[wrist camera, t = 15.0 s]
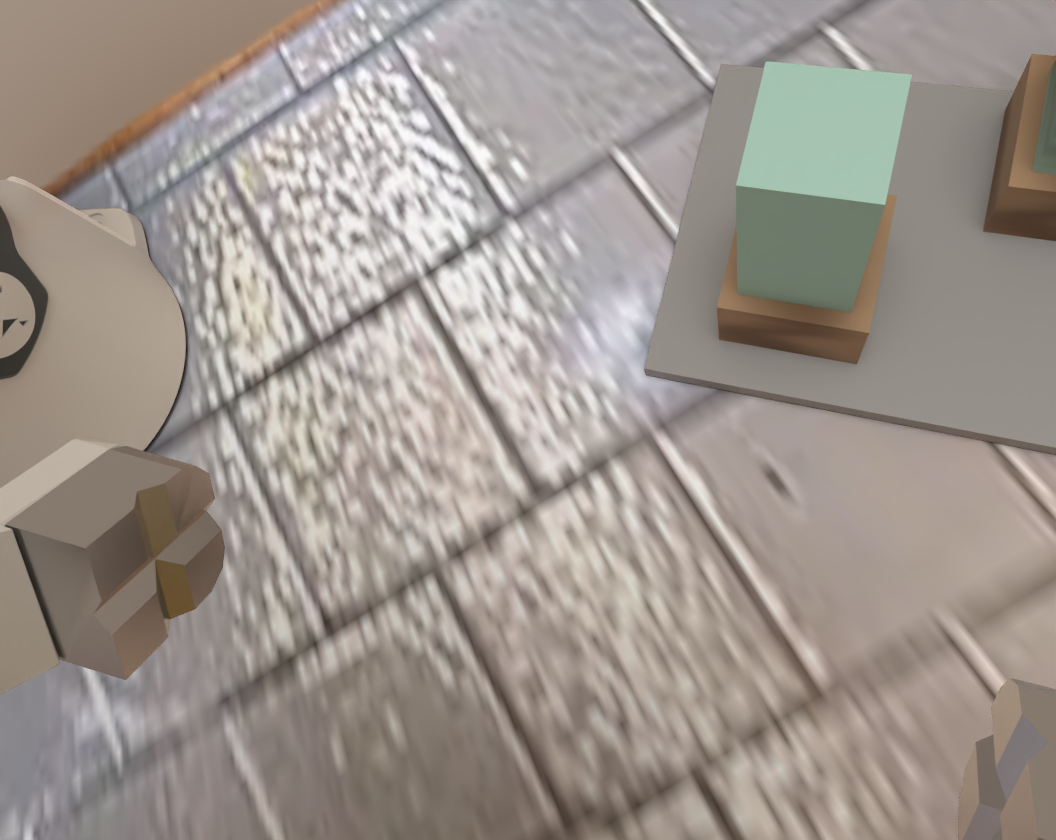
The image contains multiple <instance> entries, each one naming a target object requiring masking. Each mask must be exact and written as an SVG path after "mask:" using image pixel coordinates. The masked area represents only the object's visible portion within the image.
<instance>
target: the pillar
mask: <svg viewBox="0 0 1056 840" xmlns="http://www.w3.org/2000/svg"><path fill="white" fill-rule="evenodd" d="M911 77H912V75H910V74H899V73H888V72H877V71H866V70H855V69H844V68H833V67H822V66H811V65H800V64H789V63H778V62H767V61H766V63H765V67H764V71H763V75H762V79H761V84H760V88H759V92H758V96H757V100H756V104H755V108H754V113H753V117H752V121H751V125H750V129H749V133H748V137H747V142H746V146H745V150H744V154H743V158H742V162H741V166H740V171H739V175H738V179H737V183H736V228H737V294H741V295H747V296H753V297H759V298H765V299H771V300H778V301H784V302H790V303H796V304H802V305H808V306H814V307H820V308H827V309H833V310H839V311H845V312H852V309H853V305H854V302H855V299H856V296H857V293H858V290H859V286H860V283H861V280H862V277H863V274H864V271H865V267H866V264H867V261H868V258H869V255H870V252H871V248H872V245H873V242H874V239H875V236H876V233H877V229H878V226H879V223H880V220H881V217H882V213H883V210H884V207H885V204H886V199H887V194H888V189H889V184H890V179H891V174H892V169H893V165H894V160H895V155H896V150H897V145H898V140H899V135H900V131H901V126H902V121H903V116H904V111H905V106H906V101H907V96H908V92H909V87H910V82H911Z"/></svg>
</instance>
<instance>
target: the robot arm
mask: <svg viewBox="0 0 1056 840" xmlns="http://www.w3.org/2000/svg"><path fill="white" fill-rule="evenodd" d="M185 351H186V337H185V328H184V322H183V317H182V313H181V310H180V307H179V304H178V301H177V299H176V297H175V295H174V293H173V291H172V289H171V288H170V286H169V285H168V283H167V282H166V280H165V279H164V278H163V277H162V275H161V274H160V273H159V272H158V270H157V269H156V268H155V266H154V265H153V263H152V262H151V260H150V258H149V254H148V248H147V243H146V238H145V234H144V230H143V227H142V224H141V222H140V221H139V219H138V218H137V217H136V216H134V215H132V214H130V213H128V212H126V211H125V210H123V209H119V208H105V209H84V210H77V209H75V208H73V207H72V206H70V205H68V204H66V203H65V202H63V201H61V200H59V199H58V198H56V197H54V196H52V195H51V194H49V193H47V192H46V191H44V190H42V189H40V188H38V187H37V186H35V185H33V184H31V183H30V182H28V181H26V180H24V179H21V178H18V177H15V176H11V177H9V178H7V179H6V180H1V179H0V694H2V693H4V692H6V691H8V690H10V689H12V688H14V687H16V686H17V685H19V684H21V683H23V682H25V681H27V680H29V679H31V678H33V677H35V676H37V675H39V674H41V673H43V672H45V671H47V670H49V669H51V668H53V667H55V666H57V665H59V664H60V663H61V662H60V660H63V661H67V662H70V663H73V664H76V665H79V666H83V667H86V668H89V669H92V670H95V671H98V672H102V673H105V674H108V675H111V676H114V677H118V678H121V679H124V680H126V679H127V678H128V677H129V676H130V675H131V674H132V673H133V672H134V671H135V670H136V669H137V668H138V667H139V666H140V665H141V664H142V663H143V662H144V661H145V660H146V659H147V658H148V657H149V656H150V655H151V654H152V653H153V652H154V651H155V650H156V649H157V648H158V647H159V646H160V645H161V644H162V643H163V642H164V641H165V640H166V639H167V637H168V633H169V623H170V619H172V618H174V617H177V616H179V615H182V614H184V613H187V612H189V611H192V610H194V609H196V607H197V606H198V605H199V604H200V603H201V602H202V601H203V600H204V599H205V598H206V597H207V596H208V594H209V593H210V592H211V591H212V589H213V587H214V585H215V583H216V581H217V578H218V576H219V574H220V572H221V570H222V568H223V559H224V549H225V546H224V541H223V536H222V530H221V529H220V527H219V526H218V525H217V523H216V522H215V521H214V519H213V518H212V517H211V516H210V514H209V513H208V512H207V510H208V508H209V507H210V505H211V504H212V502H213V501H214V499H215V496H214V492H213V488H212V484H211V480H210V476H209V474H208V473H207V472H205V471H203V470H202V469H200V468H198V467H197V466H194V465H190V464H187V463H183V462H180V461H176V460H173V459H169V458H166V457H163V456H159V455H156V454H152V453H149V452H145V451H143V450H144V449H145V448H146V447H147V446H148V445H149V443H150V442H151V441H152V440H153V438H154V437H155V435H156V434H157V432H158V431H159V429H160V428H161V426H162V425H163V423H164V421H165V419H166V418H167V416H168V414H169V412H170V410H171V407H172V405H173V403H174V400H175V398H176V395H177V392H178V389H179V386H180V383H181V379H182V375H183V369H184V363H185ZM59 659H60V660H59ZM991 714H992V726H993V735H991V736H989V737H987V738H984V739H982V740H980V741H978V742H976V743H975V746H974V748H973V751H972V753H971V756H970V758H969V761H968V763H967V766H966V769H965V773H964V778H963V783H962V787H961V792H960V797H959V809H958V840H1056V689H1052V688H1048V687H1044V686H1040V685H1036V684H1032V683H1028V682H1024V681H1020V680H1016V679H1012V678H1009V679H1008V680H1007V681H1006V682H1005V683H1004V684H1003V685H1002V687H1001V688H1000V690H999V692H998V694H997V696H996V698H995V701H994V703H993V705H992V707H991Z"/></svg>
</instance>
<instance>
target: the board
mask: <svg viewBox="0 0 1056 840" xmlns="http://www.w3.org/2000/svg"><path fill="white" fill-rule="evenodd" d="M763 71H764V68H759V67H748V66H737V65H727V64H721V66H720V70H719V74H718V78H717V82H716V86H715V90H714V94H713V98H712V102H711V106H710V110H709V114H708V118H707V122H706V126H705V130H704V134H703V138H702V141H701V145H700V149H699V153H698V157H697V161H696V165H695V169H694V173H693V177H692V181H691V185H690V189H689V193H688V197H687V201H686V205H685V209H684V213H683V217H682V221H681V225H680V229H679V233H678V237H677V240H676V244H675V248H674V252H673V256H672V260H671V264H670V268H669V272H668V276H667V280H666V284H665V288H664V292H663V296H662V300H661V304H660V308H659V312H658V316H657V320H656V324H655V328H654V332H653V336H652V339H651V343H650V347H649V351H648V355H647V359H646V363H645V367H644V370H645V373H646V375H648V376H654V377H659V378H664V379H669V380H674V381H679V382H685V383H690V384H695V385H700V386H705V387H710V388H715V389H721V390H726V391H731V392H736V393H741V394H746V395H751V396H757V397H762V398H767V399H772V400H777V401H782V402H788V403H793V404H798V405H803V406H808V407H813V408H818V409H824V410H829V411H834V412H839V413H844V414H849V415H854V416H860V417H865V418H870V419H875V420H880V421H885V422H890V423H896V424H901V425H906V426H911V427H916V428H921V429H927V430H932V431H937V432H942V433H947V434H952V435H957V436H963V437H968V438H973V439H978V440H983V441H988V442H993V443H999V444H1004V445H1009V446H1014V447H1019V448H1024V449H1030V450H1035V451H1040V452H1045V453H1050V454H1055V455H1056V241H1050V240H1042V239H1035V238H1027V237H1020V236H1012V235H1005V234H998V233H990V232H983V228H984V223H985V217H986V212H987V206H988V201H989V195H990V190H991V185H992V179H993V174H994V168H995V163H996V157H997V152H998V146H999V141H1000V135H1001V130H1002V124H1003V119H1004V113H1005V109H1006V107H1007V105H1008V103H1009V101H1010V99H1011V97H1012V95H1013V93H1014V91H1005V90H994V89H983V88H973V87H962V86H951V85H941V84H930V83H919V82H910V87H909V92H908V96H907V101H906V106H905V111H904V116H903V121H902V126H901V131H900V135H899V140H898V145H897V150H896V155H895V160H894V165H893V169H892V174H891V179H890V184H889V189H888V194H889V195H897V199H896V204H895V209H894V213H893V218H892V223H891V228H890V233H889V238H888V243H887V248H886V253H885V258H884V263H883V267H882V272H881V277H880V282H879V287H878V292H877V297H876V302H875V307H874V312H873V317H872V321H871V326H870V331H869V335H868V337H867V340H866V342H865V345H864V347H863V350H862V353H861V355H860V358H859V360H858V363H857V364H852V363H847V362H841V361H835V360H830V359H824V358H819V357H813V356H807V355H802V354H796V353H791V352H785V351H779V350H774V349H768V348H763V347H757V346H752V345H746V344H740V343H735V342H729V341H724V340H719V331H718V318H717V304H718V300H719V296H720V292H721V287H722V283H723V279H724V275H725V271H726V267H727V262H728V258H729V254H730V250H731V246H732V242H733V237H734V233H735V229H736V183H737V179H738V175H739V171H740V166H741V162H742V158H743V154H744V150H745V146H746V142H747V137H748V133H749V129H750V125H751V121H752V117H753V113H754V108H755V104H756V100H757V96H758V92H759V88H760V84H761V79H762V75H763Z"/></svg>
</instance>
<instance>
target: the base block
mask: <svg viewBox="0 0 1056 840" xmlns="http://www.w3.org/2000/svg"><path fill="white" fill-rule="evenodd" d="M896 199H897V195H889V194H887V199H886V204H885V207H884V210H883V213H882V217H881V220H880V223H879V226H878V229H877V233H876V236H875V239H874V242H873V245H872V248H871V252H870V255H869V258H868V261H867V264H866V267H865V271H864V274H863V277H862V280H861V283H860V286H859V290H858V293H857V296H856V299H855V302H854V305H853V309H852V312H845V311H839V310H833V309H827V308H820V307H814V306H808V305H802V304H796V303H790V302H784V301H778V300H771V299H765V298H759V297H753V296H747V295H741V294H737V228H736V229H735V233H734V237H733V242H732V246H731V250H730V254H729V258H728V262H727V267H726V271H725V275H724V279H723V283H722V287H721V292H720V296H719V300H718V304H717V318H718V331H719V340H724V341H729V342H735V343H740V344H746V345H752V346H757V347H763V348H768V349H774V350H779V351H785V352H791V353H796V354H802V355H807V356H813V357H819V358H824V359H830V360H835V361H841V362H847V363H852V364H857V363H858V360H859V358H860V355H861V353H862V350H863V347H864V345H865V342H866V340H867V337H868V335H869V331H870V326H871V321H872V317H873V312H874V307H875V302H876V297H877V292H878V287H879V282H880V277H881V272H882V267H883V263H884V258H885V253H886V248H887V243H888V238H889V233H890V228H891V223H892V218H893V213H894V209H895V204H896Z"/></svg>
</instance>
